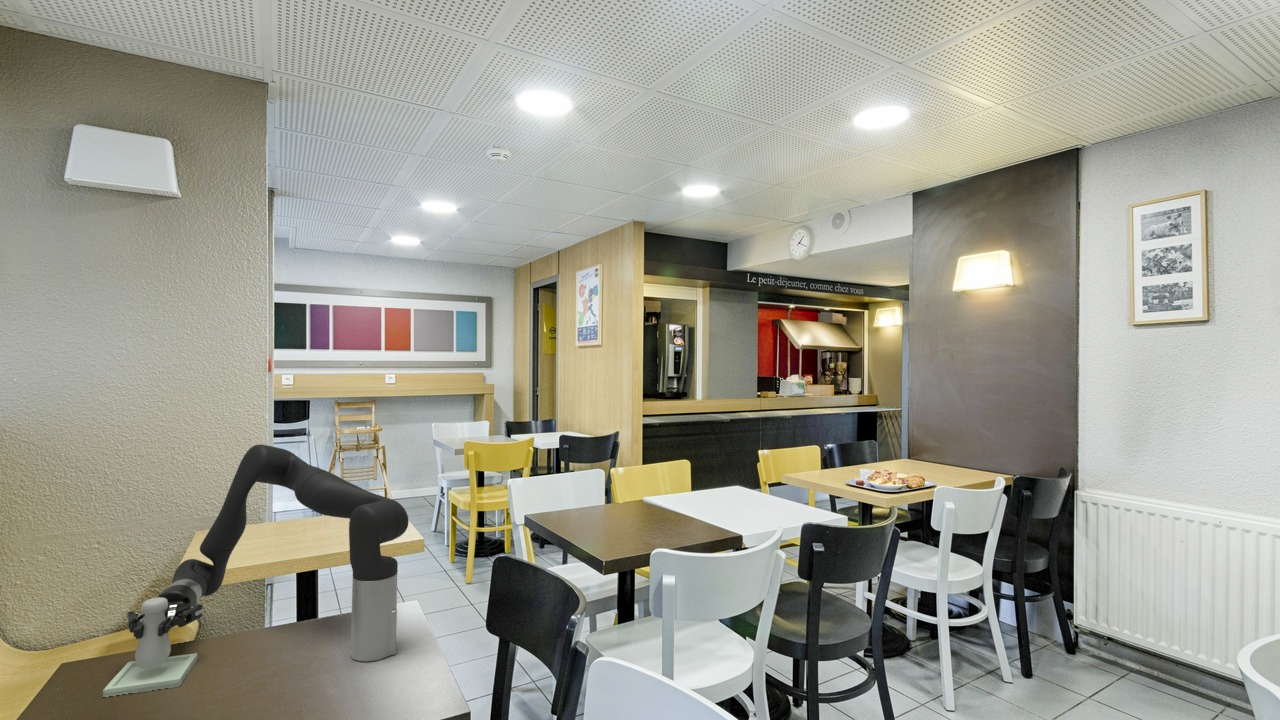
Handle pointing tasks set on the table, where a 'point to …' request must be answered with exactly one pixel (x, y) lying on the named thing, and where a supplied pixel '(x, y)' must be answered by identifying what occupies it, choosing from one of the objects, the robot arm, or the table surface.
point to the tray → (151, 676)
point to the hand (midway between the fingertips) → (149, 632)
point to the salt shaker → (153, 635)
